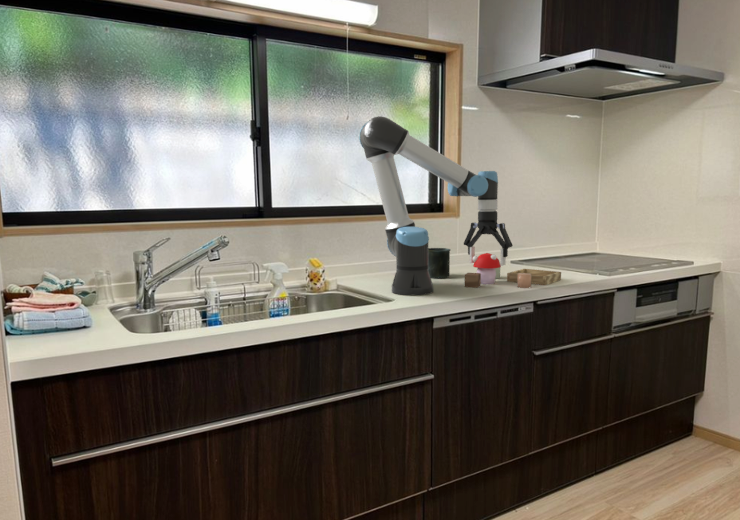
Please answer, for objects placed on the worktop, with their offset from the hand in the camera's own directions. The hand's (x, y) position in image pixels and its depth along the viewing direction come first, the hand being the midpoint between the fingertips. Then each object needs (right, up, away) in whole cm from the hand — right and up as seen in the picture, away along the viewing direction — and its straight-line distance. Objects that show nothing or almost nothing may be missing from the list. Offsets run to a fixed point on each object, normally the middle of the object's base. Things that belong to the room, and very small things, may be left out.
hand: (487, 264), depth 216 cm
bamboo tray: (+20, -7, +5) cm, 22 cm away
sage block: (+5, -6, +13) cm, 15 cm away
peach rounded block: (+12, -9, -9) cm, 18 cm away
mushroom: (0, -8, +1) cm, 8 cm away
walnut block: (-7, -9, -7) cm, 13 cm away
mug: (-19, -6, +18) cm, 26 cm away
